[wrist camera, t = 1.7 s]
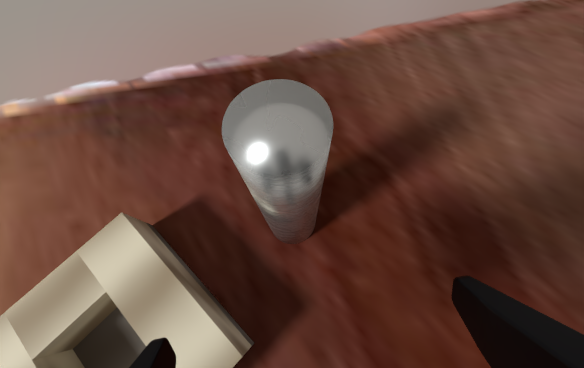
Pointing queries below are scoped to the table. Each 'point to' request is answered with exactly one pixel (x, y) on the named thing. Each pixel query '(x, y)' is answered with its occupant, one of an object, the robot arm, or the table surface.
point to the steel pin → (281, 152)
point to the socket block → (119, 308)
